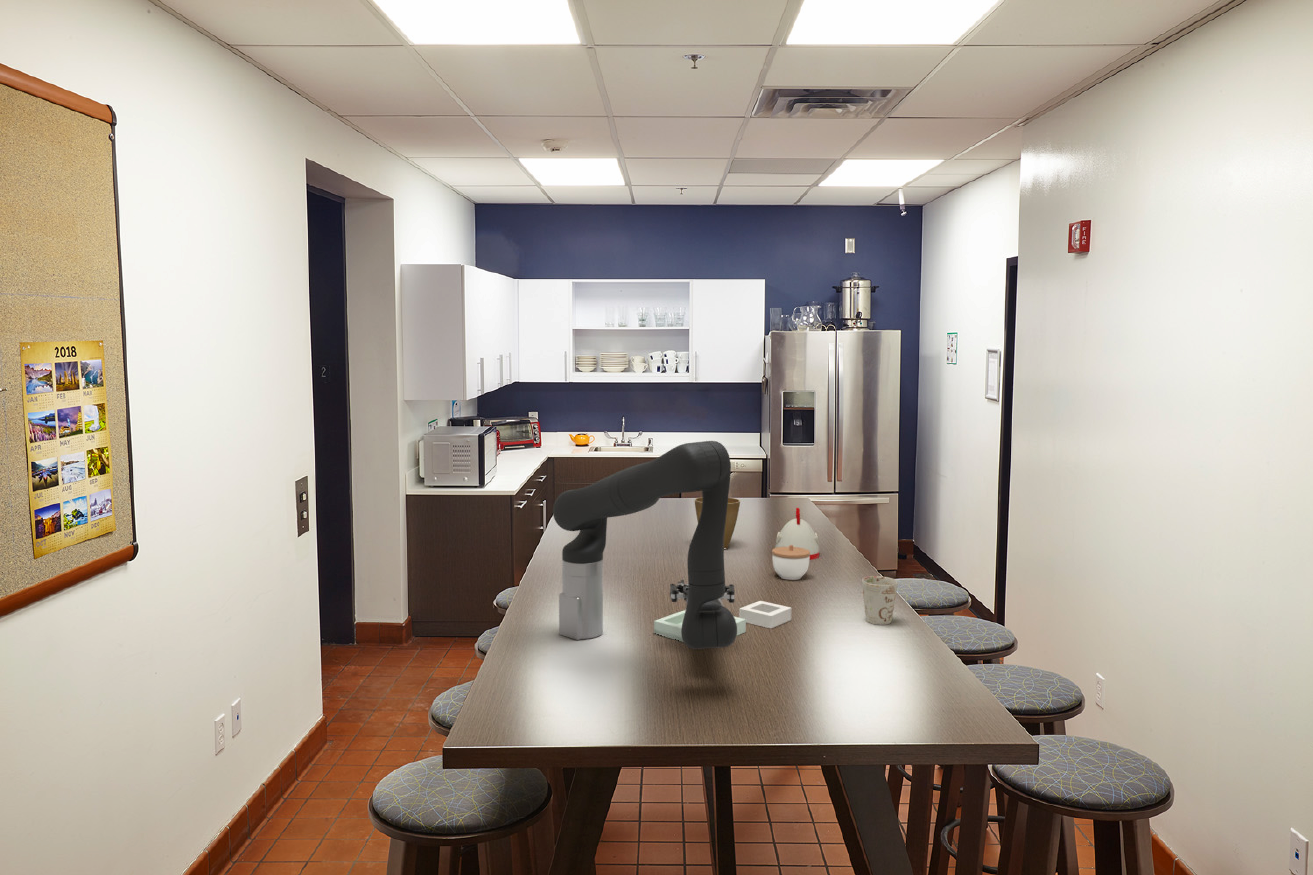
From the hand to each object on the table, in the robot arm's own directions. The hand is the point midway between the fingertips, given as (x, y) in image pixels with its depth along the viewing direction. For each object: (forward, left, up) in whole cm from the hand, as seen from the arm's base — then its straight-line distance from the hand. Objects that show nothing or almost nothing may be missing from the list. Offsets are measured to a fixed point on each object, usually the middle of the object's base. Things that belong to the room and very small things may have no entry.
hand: (700, 584), depth 202 cm
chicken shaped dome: (+82, +24, -12) cm, 86 cm away
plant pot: (+73, +49, -12) cm, 89 cm away
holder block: (+18, -6, -11) cm, 22 cm away
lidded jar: (+57, +11, -12) cm, 59 cm away
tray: (0, 0, -11) cm, 12 cm away
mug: (+37, -25, -12) cm, 46 cm away
